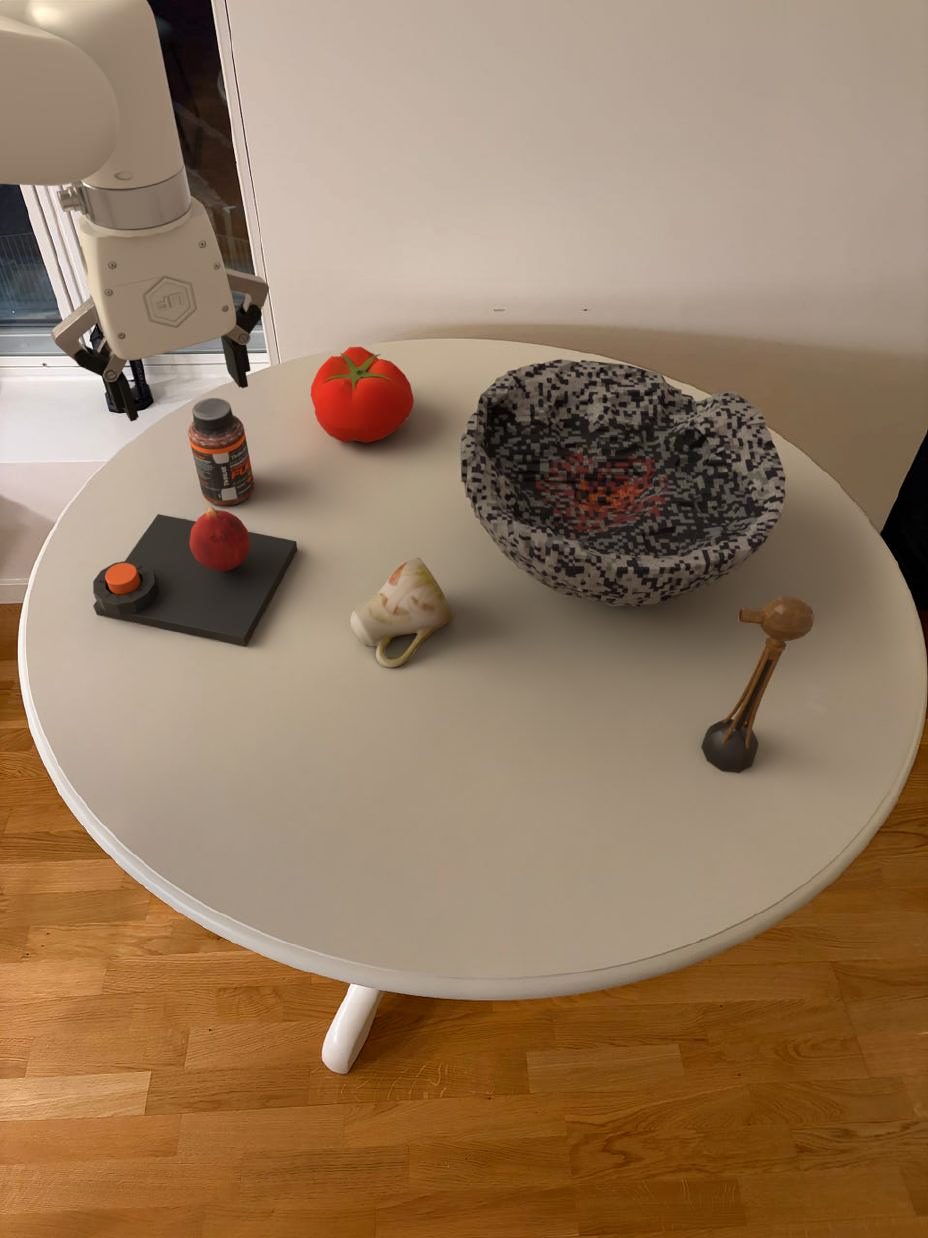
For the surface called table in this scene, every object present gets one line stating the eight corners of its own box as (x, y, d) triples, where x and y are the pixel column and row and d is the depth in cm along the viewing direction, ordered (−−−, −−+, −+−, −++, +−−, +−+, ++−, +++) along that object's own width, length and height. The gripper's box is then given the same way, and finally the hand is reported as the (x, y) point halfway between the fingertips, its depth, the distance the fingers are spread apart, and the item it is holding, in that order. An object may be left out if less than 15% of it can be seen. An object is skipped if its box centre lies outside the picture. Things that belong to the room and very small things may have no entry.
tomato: (410, 459, 107) (408, 399, 101) (306, 454, 108) (298, 394, 101) (418, 397, 116) (417, 338, 109) (321, 392, 116) (315, 333, 110)
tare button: (103, 592, 89) (99, 581, 87) (118, 570, 91) (114, 560, 89) (131, 597, 88) (127, 587, 87) (145, 576, 90) (142, 565, 89)
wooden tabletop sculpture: (690, 767, 80) (749, 619, 65) (688, 724, 83) (745, 573, 68) (757, 775, 80) (832, 628, 65) (753, 732, 83) (824, 582, 68)
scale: (90, 617, 90) (81, 597, 88) (156, 522, 99) (150, 501, 97) (244, 650, 88) (239, 630, 85) (297, 550, 97) (294, 529, 95)
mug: (333, 627, 90) (362, 538, 86) (417, 636, 95) (449, 552, 91) (356, 668, 84) (390, 574, 80) (445, 675, 89) (480, 588, 86)
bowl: (460, 668, 87) (464, 558, 75) (457, 461, 107) (459, 350, 96) (782, 669, 88) (833, 560, 76) (717, 464, 108) (750, 354, 97)
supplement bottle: (246, 511, 101) (228, 428, 92) (194, 504, 101) (173, 421, 93) (262, 477, 105) (247, 394, 96) (212, 471, 105) (193, 388, 97)
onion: (263, 554, 94) (252, 496, 88) (240, 592, 91) (226, 534, 85) (213, 542, 95) (198, 484, 89) (187, 580, 92) (170, 522, 86)
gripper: (24, 242, 59) (97, 450, 72) (268, 189, 65) (296, 389, 78) (-2, 197, 63) (71, 402, 76) (230, 151, 70) (262, 347, 83)
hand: (185, 395), depth 77 cm, fingers open, 9 cm apart
